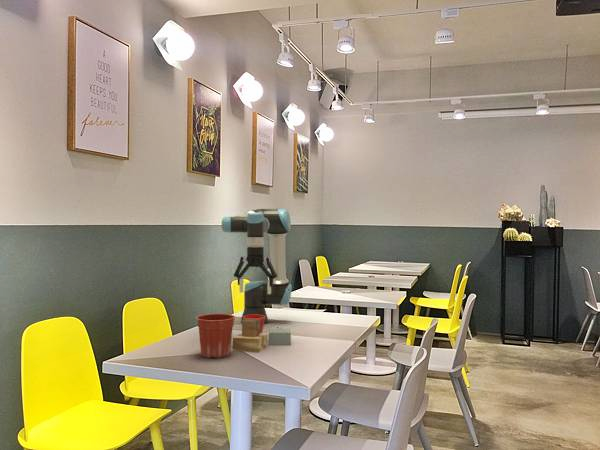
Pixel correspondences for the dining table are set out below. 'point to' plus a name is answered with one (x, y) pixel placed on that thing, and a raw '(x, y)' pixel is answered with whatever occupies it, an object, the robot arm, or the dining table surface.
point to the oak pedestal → (250, 343)
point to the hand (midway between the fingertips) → (255, 293)
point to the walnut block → (250, 327)
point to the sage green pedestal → (279, 336)
